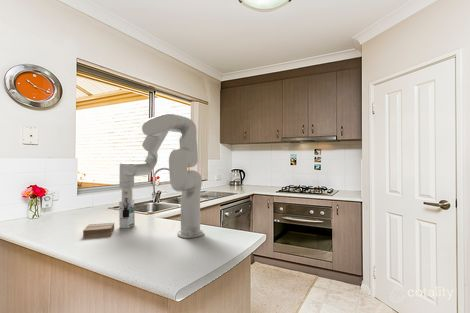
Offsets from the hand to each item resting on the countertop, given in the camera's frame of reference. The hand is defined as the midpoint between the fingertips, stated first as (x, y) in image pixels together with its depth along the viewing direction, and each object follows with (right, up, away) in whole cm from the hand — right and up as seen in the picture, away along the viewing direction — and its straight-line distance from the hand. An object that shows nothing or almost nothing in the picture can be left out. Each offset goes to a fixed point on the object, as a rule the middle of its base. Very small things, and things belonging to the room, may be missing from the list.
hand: (126, 215), depth 144 cm
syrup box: (0, -6, 0) cm, 6 cm away
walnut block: (-8, -6, -13) cm, 17 cm away
